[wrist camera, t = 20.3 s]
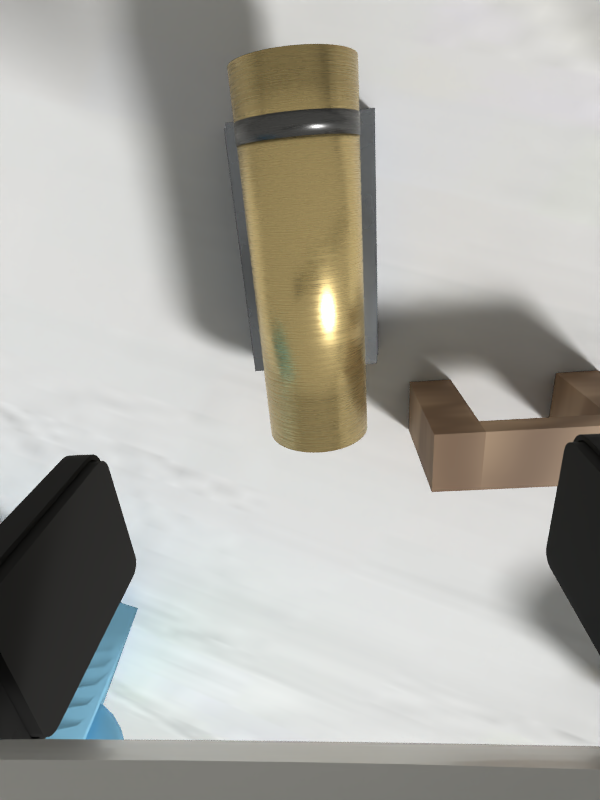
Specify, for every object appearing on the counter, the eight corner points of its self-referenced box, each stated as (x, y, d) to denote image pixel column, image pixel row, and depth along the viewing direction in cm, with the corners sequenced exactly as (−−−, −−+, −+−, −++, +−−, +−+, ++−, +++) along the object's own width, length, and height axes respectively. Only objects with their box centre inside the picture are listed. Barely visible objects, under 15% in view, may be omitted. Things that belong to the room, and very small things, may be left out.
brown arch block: (598, 370, 25) (675, 421, 20) (588, 420, 26) (659, 481, 21) (409, 382, 26) (434, 434, 20) (408, 429, 27) (431, 491, 22)
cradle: (372, 110, 21) (382, 97, 17) (376, 349, 25) (384, 372, 22) (228, 125, 21) (213, 114, 18) (257, 357, 25) (249, 381, 22)
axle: (263, 83, 19) (200, 63, 15) (373, 62, 17) (333, 34, 13) (294, 402, 24) (254, 445, 21) (378, 411, 23) (351, 459, 19)
